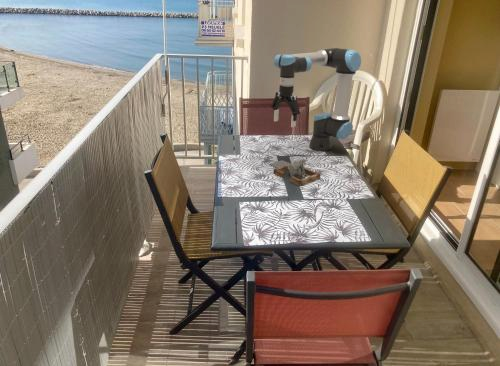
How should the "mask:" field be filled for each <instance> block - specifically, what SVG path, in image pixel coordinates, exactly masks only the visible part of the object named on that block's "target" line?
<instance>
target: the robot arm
mask: <svg viewBox="0 0 500 366" xmlns="http://www.w3.org/2000/svg"><path fill="white" fill-rule="evenodd" d="M273 64H274V67H275V68H278V69H280V71H279V72H280V75H279V90H278V91H277V92H275V96H274V99H273V101H272V102H271V105H270V108H271V109H273V122H278V121H279V113H280V109H279V107H280V106H281V105H282V104H283V103H285V104H287V105H288V107H289V109H290V111H291V113H292V114H291V118H290V120H291V122H290V123H291V124H290V127H291V128H293V127H297V126H296V125H297V124H296V123H297V120H298V119H297V118H298V115H301V111H300V107H299V103H298V97H297V95H293V93H294V85H295V74H296V73H297V74H298V73H306V72H309V71H310V70H311V69H312V67H314V66H319V67H329V68H333V69H335V74H336V75H337V84H336V90H335V91H336V92H335V101H334V110H333V111H334V112H333V113H331V112H330V113H329V112H323V113H316V114H315V115H314V119H313V128H312V129H313V130H312V136H311V139H310V141H309V145H308V147H309V148H310V149H311V150H313V151H318V152H328V151H331V150H332V149H333V143H332V140H331V137H333V138H336V139H340V140H346V139H348V138H349V137H350V135H351V134H352V132H353V130H354V125H353V123H352V122H350V121H351V120H350V119H351V117H350V116H349V111H350V110H349V108H350V99H351V94H352V93H351V92H352V83H353V77H354V75H355V74H356V72H357V71H359V69H360V67H361V65H362V57H361V55H360V53H359V52H358V51H357V50H354V49H347V48H340V47H332V48H325V49H319V50H318V51H316V52H315V51H314V52H303V53H294V54H293V53H292V54H281V53H279V54H277V55H275V56H274V59H273Z"/></svg>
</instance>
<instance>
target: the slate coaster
mask: <svg viewBox="0 0 500 366" xmlns="http://www.w3.org/2000/svg"><path fill="white" fill-rule="evenodd" d="M289 164H290V162H287V161H286V160H279V161H275V162H272V163H268V166H270V167H272V166H273V167H272V168H274V169H276V168H279V167H283V166H286V165H289Z"/></svg>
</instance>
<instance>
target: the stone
mask: <svg viewBox="0 0 500 366" xmlns="http://www.w3.org/2000/svg"><path fill="white" fill-rule="evenodd" d="M289 163H290V162H289ZM304 168H305V167H304V163H303V162H300V161H293V162H291V163H290V164H289V166H288V170H289V171H288V172H289V175H290V177H292V176H293V177H296V178H298V179H300V180H301V179H304V178H307V175H306V173H305V170H304Z"/></svg>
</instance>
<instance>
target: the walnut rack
mask: <svg viewBox="0 0 500 366" xmlns="http://www.w3.org/2000/svg"><path fill="white" fill-rule="evenodd" d="M288 166H289V165H286V166H283V167H279V168H274V169H273V171H272V172H273V175H274V174H275V176H276V175H277V176H276V177H278V176H279V178H280V179H284V178H285V173H286V172H289V170H288ZM304 170H305V173H306V177H305V178H304V179H300V178H297V177H293V176H290V179H289V181H290V183H292V184H294V185H297V186H299V187H303V186H305V185H308V184H310V183H313V182H316V181H319V180H321V176H322V175H321V173H318V172H316V171H314V170H312V169H309V168H306V167H304Z"/></svg>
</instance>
